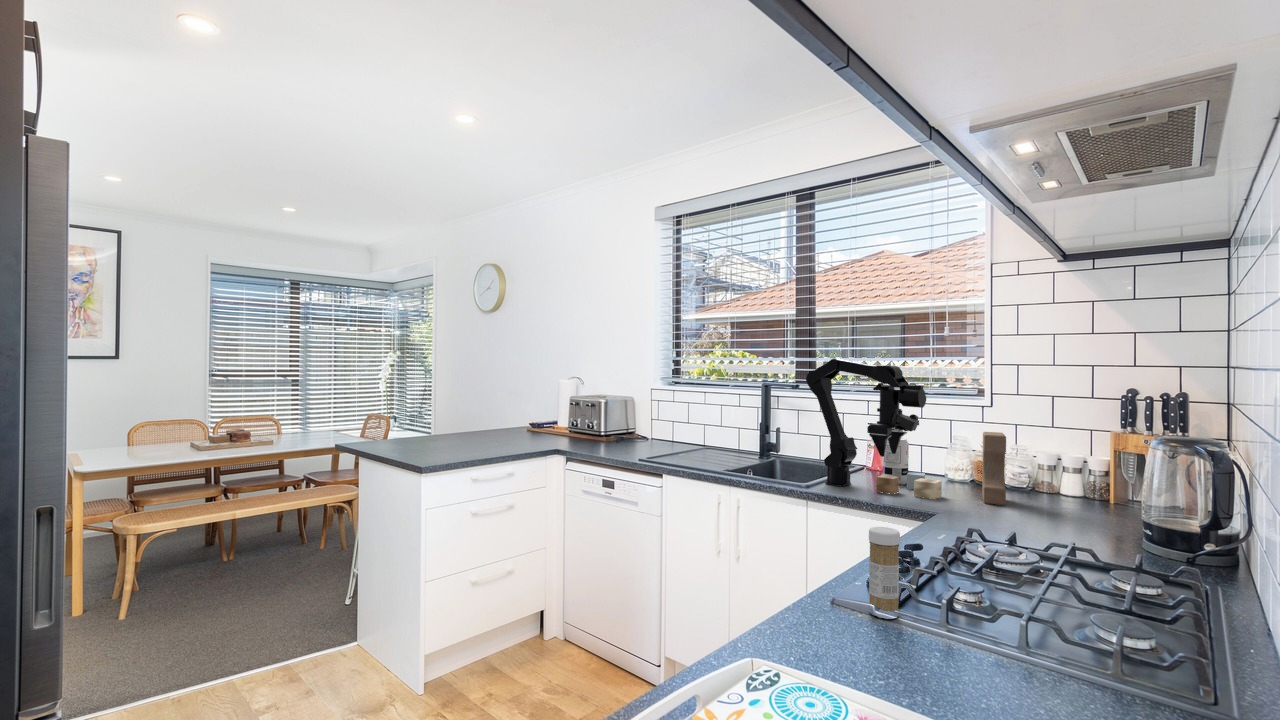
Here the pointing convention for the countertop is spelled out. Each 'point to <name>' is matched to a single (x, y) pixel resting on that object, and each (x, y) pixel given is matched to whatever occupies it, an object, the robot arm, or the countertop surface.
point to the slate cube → (913, 478)
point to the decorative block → (994, 468)
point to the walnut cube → (887, 484)
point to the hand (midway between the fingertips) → (888, 455)
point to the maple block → (927, 488)
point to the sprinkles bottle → (884, 568)
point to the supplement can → (896, 461)
